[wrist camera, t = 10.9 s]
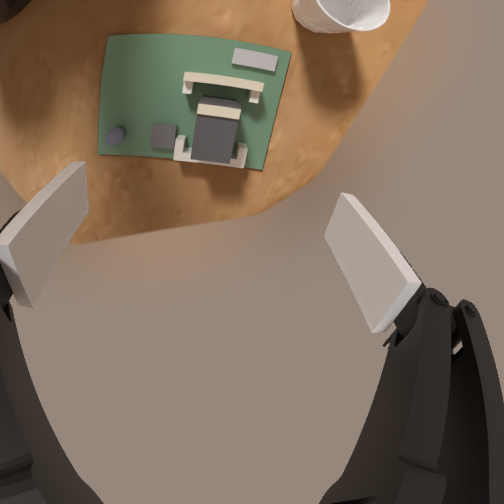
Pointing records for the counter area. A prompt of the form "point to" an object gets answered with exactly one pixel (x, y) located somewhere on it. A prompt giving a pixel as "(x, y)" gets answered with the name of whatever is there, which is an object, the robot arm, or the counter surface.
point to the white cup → (341, 15)
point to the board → (181, 104)
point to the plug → (215, 129)
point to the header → (191, 77)
